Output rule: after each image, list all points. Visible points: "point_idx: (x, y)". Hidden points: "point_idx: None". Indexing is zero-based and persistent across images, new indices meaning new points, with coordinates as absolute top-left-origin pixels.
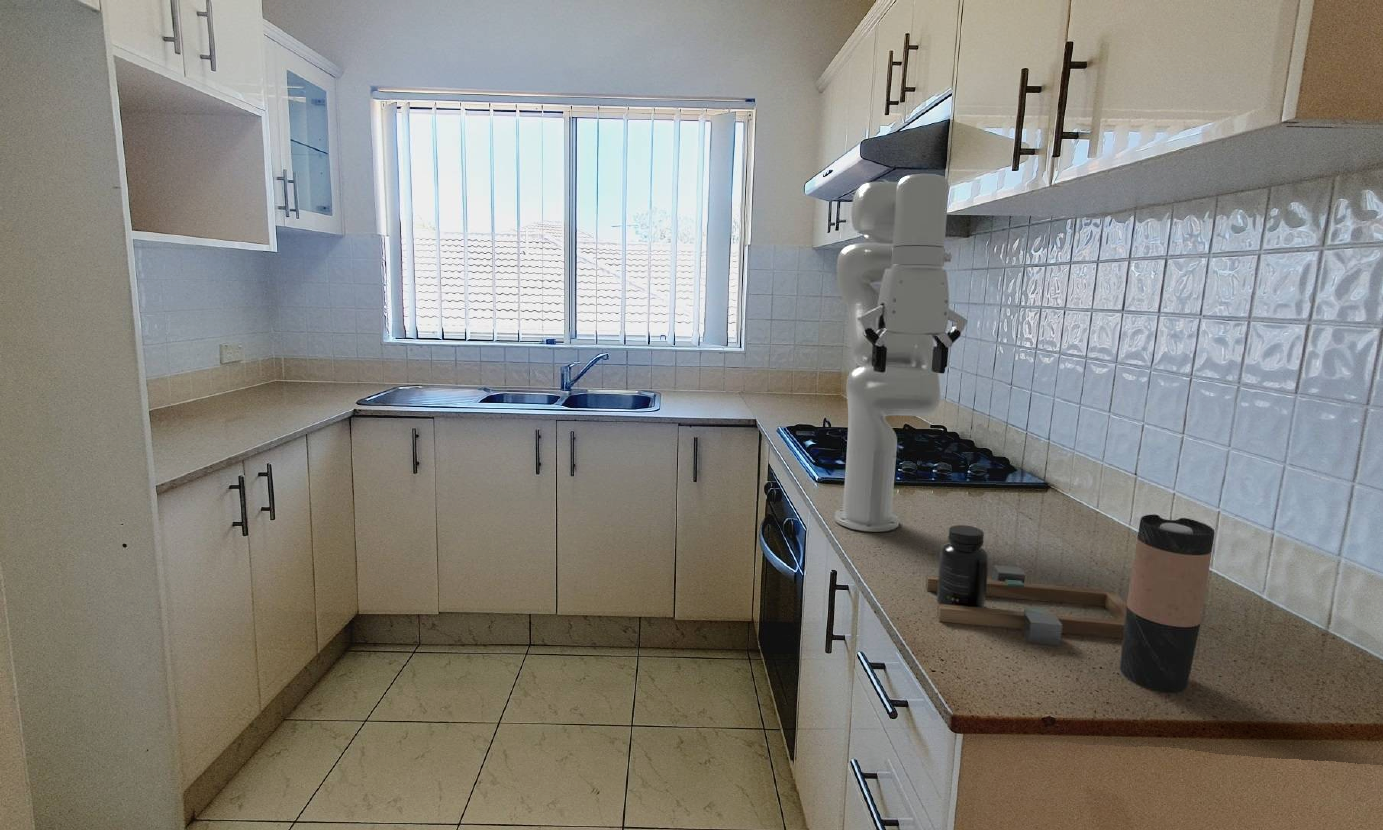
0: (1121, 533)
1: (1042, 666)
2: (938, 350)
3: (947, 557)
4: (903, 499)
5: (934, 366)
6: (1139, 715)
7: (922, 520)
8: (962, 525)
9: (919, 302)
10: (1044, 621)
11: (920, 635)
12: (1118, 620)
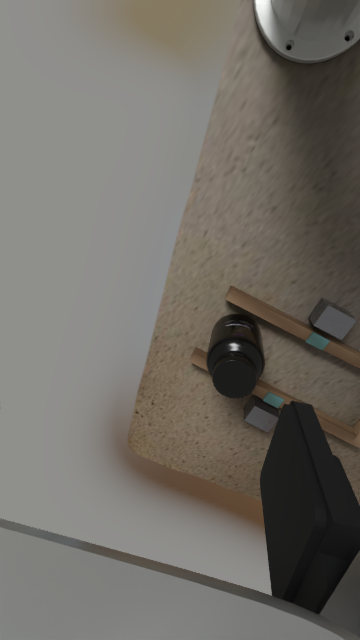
0: None
1: (224, 434)
2: (287, 561)
3: (206, 364)
4: None
5: (281, 442)
6: (238, 490)
7: None
8: (242, 364)
9: None
10: (258, 423)
11: (158, 369)
12: (344, 431)
